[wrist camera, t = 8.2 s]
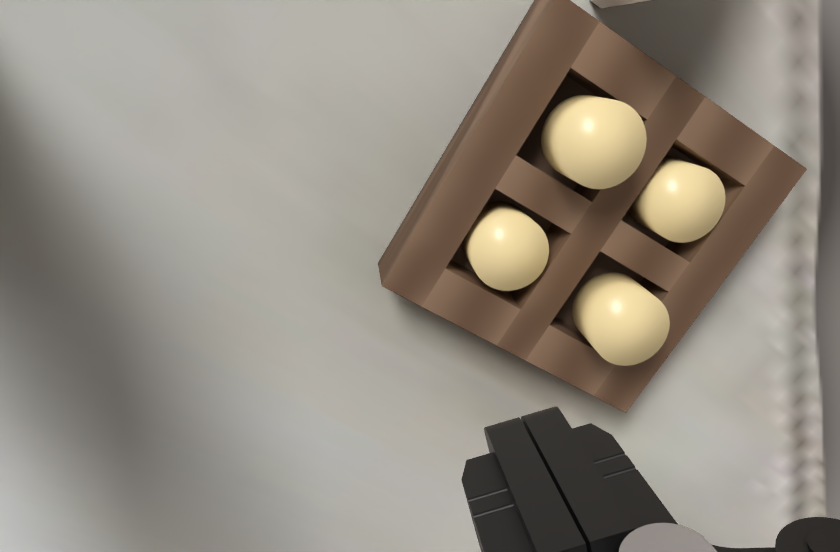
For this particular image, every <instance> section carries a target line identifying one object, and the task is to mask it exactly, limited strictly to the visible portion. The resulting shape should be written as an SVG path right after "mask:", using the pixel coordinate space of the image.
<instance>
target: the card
mask: <svg viewBox="0 0 840 552" xmlns="http://www.w3.org/2000/svg"><path fill="white" fill-rule="evenodd" d="M590 1H591V2H593V3H594V4H595V5H597V6H598V7H600V8H607V7H613V6H619V5H625V4H631V3H637V2H644V1H650V0H590Z"/></svg>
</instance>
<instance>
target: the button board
mask: <svg viewBox="0 0 840 552" xmlns="http://www.w3.org/2000/svg"><path fill="white" fill-rule="evenodd" d="M578 95H591V96H596V97H602V98H607V99H613V100H618V101H621V102H624V103H626V104H628V105H629V106H631V107H632V108H633V109H634V110H635V111H636V112H637V113H638V114H639V116H640V117H641V119H642V121H643V123H644V126H645V130H646V137H647V141H646V149H645V153H644V156H643V159H642V161H641V163H640V165H639V166H638V168H637V169H636V170H635V172H634V173H633V174H632V175H631V176H630V177H629V178H628V179H626V180H625V181H623V182H622V183H620V184H618V185H616V186H613V187H611V188H606V189H592V188H588V187H585V186H582V185H581V184H579V183H577V182H575V181H573V180H571V179H570V178H568V177H566V176H564V175H563V174H561V173H559V172H557V171H556V170H555V169H553V168H552V167H551V166H550V164H549V163H548V162H547V160H546V158H545V156H544V154H543V151H542V146H541V134H542V129H543V126H544V123H545V121H546V119H547V117H548V115H549V114H550V112H551V111H552V110H553V109H554V108H555V107H556V106H557V105H558V104H559V103H561V102H562V101H564V100H566V99H568V98H570V97H573V96H578ZM664 157H673V158H677V159H680V160H683V161H686V162H689V163H692V164H695V165H698V166H701V167H704V168H707V169H709V170H711V171H712V172H714V173H715V174H716V175H717V176H718V177H719V179H720V180H721V182H722V184H723V186H724V190H725V206H724V210H723V213H722V215H721V217H720V219H719V221H718V223H717V224H716V225H715V226H714V228H713V229H712V230H711V231H710V232H708V233H707V234H706V235H704V236H703V237H701V238H699V239H697V240H694V241H691V242H685V243H678V242H673V241H670V240H668V239H666V238H664V237H662V236H660V235H659V234H657V233H655V232H653V231H652V230H650V229H648V228H647V227H645V226H643V225H641V224H640V223H638V222H637V221H636V220H635V219H634V218H633V217H632V216H631V214H630V213H629V211H628V209H629V208H630V206H631V205H632V204H633V202H634V201H635V199H636V198H637V196H638V195H639V193H640V192H641V190H642V189H643V187H644V186H645V184H646V183H647V182H648V180H649V179H650V177H651V176H652V174H653V173H654V171H655V170H656V168H657V167H658V165H659V164H660V163H661V161H662V160H663V158H664ZM806 170H807V169H806V168H805V167H804V166H802V165H801V164H799V163H798V162H796V161H795V160H794V159H792V158H791V157H789V156H788V155H787V154H785V153H784V152H782V151H781V150H780V149H778V148H777V147H775V146H774V145H773V144H771V143H770V142H768V141H767V140H766V139H764V138H763V137H761V136H760V135H759V134H757V133H756V132H754V131H753V130H751V129H750V128H749V127H747V126H746V125H744V124H743V123H742V122H740V121H739V120H737V119H736V118H735V117H733V116H732V115H730V114H729V113H728V112H726V111H725V110H723V109H722V108H721V107H719V106H718V105H716V104H715V103H714V102H712V101H711V100H709V99H708V98H706V97H705V96H704V95H702V94H701V93H699V92H698V91H697V90H695V89H694V88H692V87H691V86H690V85H688V84H687V83H685V82H684V81H683V80H681V79H680V78H678V77H677V76H676V75H674V74H673V73H671V72H670V71H669V70H667V69H666V68H664V67H663V66H661V65H660V64H659V63H657V62H656V61H654V60H653V59H652V58H650V57H649V56H647V55H646V54H645V53H643V52H642V51H640V50H639V49H638V48H636V47H635V46H633V45H632V44H631V43H629V42H628V41H626V40H625V39H624V38H622V37H621V36H619V35H618V34H616V33H615V32H614V31H612V30H611V29H609V28H608V27H607V26H605V25H604V24H602V23H601V22H600V21H598V20H597V19H595V18H594V17H593V16H591V15H590V14H588V13H587V12H586V11H584V10H583V9H581V8H580V7H579V6H577V5H576V4H574V3H573V2H571V1H570V0H534V2H533V4H532V5H531V7H530V9H529V10H528V12H527V14H526V15H525V17H524V19H523V20H522V22H521V24H520V25H519V27H518V29H517V31H516V32H515V34H514V36H513V37H512V39H511V41H510V42H509V44H508V46H507V47H506V49H505V51H504V52H503V54H502V56H501V57H500V59H499V61H498V62H497V64H496V66H495V67H494V69H493V71H492V73H491V74H490V76H489V78H488V79H487V81H486V83H485V84H484V86H483V88H482V89H481V91H480V93H479V94H478V96H477V98H476V99H475V101H474V103H473V104H472V106H471V108H470V109H469V111H468V113H467V115H466V116H465V118H464V120H463V121H462V123H461V125H460V126H459V128H458V130H457V131H456V133H455V135H454V136H453V138H452V140H451V141H450V143H449V145H448V146H447V148H446V150H445V151H444V153H443V155H442V157H441V158H440V160H439V162H438V163H437V165H436V167H435V168H434V170H433V172H432V173H431V175H430V177H429V178H428V180H427V182H426V183H425V185H424V187H423V188H422V190H421V192H420V193H419V195H418V197H417V199H416V200H415V202H414V204H413V205H412V207H411V209H410V210H409V212H408V214H407V215H406V217H405V219H404V220H403V222H402V224H401V225H400V227H399V229H398V230H397V232H396V234H395V236H394V237H393V239H392V241H391V242H390V244H389V246H388V247H387V249H386V251H385V252H384V254H383V256H382V257H381V259H380V261H379V262H378V266H379V272H380V278H381V284H382V286H383V287H385V288H387V289H389V290H391V291H393V292H395V293H396V294H398V295H400V296H402V297H404V298H406V299H408V300H410V301H412V302H414V303H416V304H418V305H420V306H421V307H423V308H425V309H427V310H429V311H431V312H433V313H435V314H437V315H439V316H441V317H443V318H445V319H446V320H448V321H450V322H452V323H454V324H456V325H458V326H460V327H462V328H464V329H466V330H468V331H470V332H471V333H473V334H475V335H477V336H479V337H481V338H483V339H485V340H487V341H489V342H491V343H493V344H495V345H497V346H498V347H500V348H502V349H504V350H506V351H508V352H510V353H512V354H514V355H516V356H518V357H520V358H522V359H523V360H525V361H527V362H529V363H531V364H533V365H535V366H537V367H539V368H541V369H543V370H545V371H547V372H548V373H550V374H552V375H554V376H556V377H558V378H560V379H562V380H564V381H566V382H568V383H570V384H572V385H573V386H575V387H577V388H579V389H581V390H583V391H585V392H587V393H589V394H591V395H593V396H595V397H597V398H599V399H600V400H602V401H604V402H606V403H608V404H610V405H612V406H614V407H616V408H618V409H620V410H622V411H624V412H625V413H626V412H627V411H628V409H629V408H630V407H631V405H632V404H633V402H634V401H635V400H636V398H637V397H638V396H639V394H640V393H641V392H642V390H643V389H644V388H645V386H646V385H647V384H648V382H649V381H650V380H651V378H652V377H653V376H654V374H655V373H656V372H657V370H658V369H659V367H660V366H661V365H662V363H663V362H664V361H665V359H666V358H667V357H668V355H669V354H670V353H671V351H672V350H673V349H674V347H675V346H676V345H677V343H678V342H679V341H680V339H681V338H682V337H683V335H684V334H685V332H686V331H687V330H688V328H689V327H690V326H691V324H692V323H693V322H694V320H695V319H696V318H697V316H698V315H699V314H700V312H701V311H702V310H703V308H704V307H705V306H706V304H707V303H708V302H709V300H710V299H711V297H712V296H713V295H714V293H715V292H716V291H717V289H718V288H719V287H720V285H721V284H722V283H723V281H724V280H725V279H726V277H727V276H728V275H729V273H730V272H731V271H732V269H733V268H734V267H735V265H736V264H737V262H738V261H739V260H740V258H741V257H742V256H743V254H744V253H745V252H746V250H747V249H748V248H749V246H750V245H751V244H752V242H753V241H754V240H755V238H756V237H757V236H758V234H759V233H760V232H761V230H762V229H763V227H764V226H765V225H766V223H767V222H768V221H769V219H770V218H771V217H772V215H773V214H774V213H775V211H776V210H777V209H778V207H779V206H780V205H781V203H782V202H783V201H784V199H785V198H786V197H787V195H788V194H789V192H790V191H791V190H792V188H793V187H794V186H795V184H796V183H797V182H798V180H799V179H800V178H801V176H802V175H803V174H804V172H805V171H806ZM494 202H505V203H509V204H512V205H515V206H517V207H518V208H520V209H521V210H522V211H523V212H524V213H525V214H527V215H528V216H529V217H530V218H531V219H532V220H533V221H534V222H536V223H537V224H538V225H539V226H540V227H541V228H542V230H543V231H544V233H545V235H546V237H547V240H548V244H549V256H548V261H547V264H546V266H545V268H544V270H543V272H542V273H541V274H540V276H539V277H538V278H537V279H536V280H535V281H533V282H532V283H531V284H529V285H528V286H525V287H523V288H521V289H518V290H512V291H502V290H497V289H494V288H492V287H490V286H488V285H487V284H485V283H484V282H483V281H482V280H481V279H480V278H479V277H478V275H477V274H476V272H475V270H474V269H473V267H472V266H471V264H470V262H469V261H468V259H467V257H466V256H465V253H464V251H463V248H462V241H463V239H464V238H465V236H466V235H467V233H468V231H469V230H470V228H471V227H472V225H473V223H474V222H475V220H476V219H477V217H478V215H479V214H480V212H481V211H482V209H483V207H484V206H485V205H486V204H489V203H494ZM609 272H617V273H622V274H625V275H627V276H629V277H631V278H632V279H633V280H635V281H636V282H637V283H639V284H640V285H641V286H642V287H644V288H645V289H646V290H647V291H649V292H650V293H651V294H653V295H654V296H655V297H656V298H658V299H659V300H660V301H661V302H662V303H663V304H664V306H665V307H666V309H667V311H668V314H669V320H670V326H669V332H668V335H667V338H666V340H665V342H664V344H663V345H662V347H661V348H660V349H659V350H658V351H657V352H656V353H655V354H654V355H653V356H652V357H650V358H649V359H647V360H645V361H643V362H641V363H638V364H635V365H629V366H621V365H615V364H612V363H610V362H608V361H606V360H605V359H603V358H602V357H601V356H600V355H599V353H598V352H597V351H596V350H595V349H594V347H593V346H592V345H591V344H590V343H589V342H588V340H587V339H586V338H585V337H584V336H583V335H582V333H581V332H580V331H579V330H578V329H577V327H576V325H575V323H574V321H573V316H572V307H573V302H574V299H575V297H576V294H577V293H578V291H579V290H580V288H581V287H582V286H583V285H584V284H585V283H586V282H587V281H589V280H590V279H592V278H593V277H595V276H597V275H600V274H603V273H609Z"/></svg>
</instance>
